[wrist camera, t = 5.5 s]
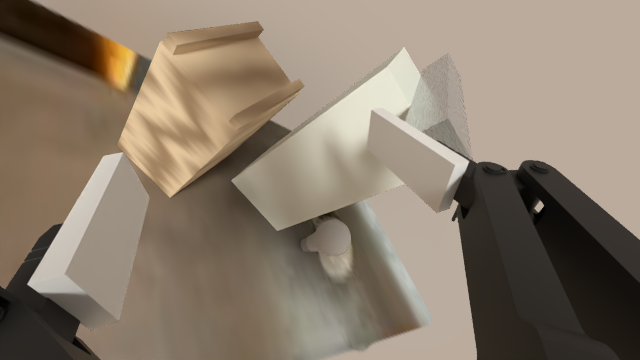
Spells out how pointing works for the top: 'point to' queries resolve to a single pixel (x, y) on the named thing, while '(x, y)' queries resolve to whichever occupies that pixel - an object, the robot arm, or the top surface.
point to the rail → (441, 106)
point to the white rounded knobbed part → (328, 239)
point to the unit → (331, 151)
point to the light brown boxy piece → (203, 102)
